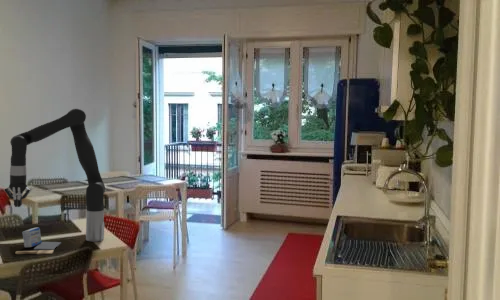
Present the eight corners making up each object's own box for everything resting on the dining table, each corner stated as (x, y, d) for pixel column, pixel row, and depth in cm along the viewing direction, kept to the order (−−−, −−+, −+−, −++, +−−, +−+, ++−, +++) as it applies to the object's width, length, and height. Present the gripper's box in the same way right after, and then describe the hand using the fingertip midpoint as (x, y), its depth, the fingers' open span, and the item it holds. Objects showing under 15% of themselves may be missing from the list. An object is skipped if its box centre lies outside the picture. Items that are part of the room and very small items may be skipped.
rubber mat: (61, 243, 232) (61, 242, 232) (53, 250, 220) (53, 249, 220) (42, 242, 231) (42, 241, 231) (33, 249, 219) (33, 248, 219)
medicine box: (31, 247, 220) (29, 230, 220) (24, 247, 221) (21, 231, 221) (42, 243, 228) (39, 227, 227) (34, 243, 229) (32, 227, 228)
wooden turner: (53, 251, 218) (53, 249, 218) (52, 253, 214) (52, 251, 214) (17, 252, 214) (17, 250, 213) (14, 255, 209) (14, 253, 209)
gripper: (34, 173, 225) (34, 205, 226) (8, 172, 224) (7, 204, 225) (28, 175, 218) (28, 208, 219) (1, 174, 216) (0, 207, 217)
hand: (17, 206), depth 222 cm, fingers closed
